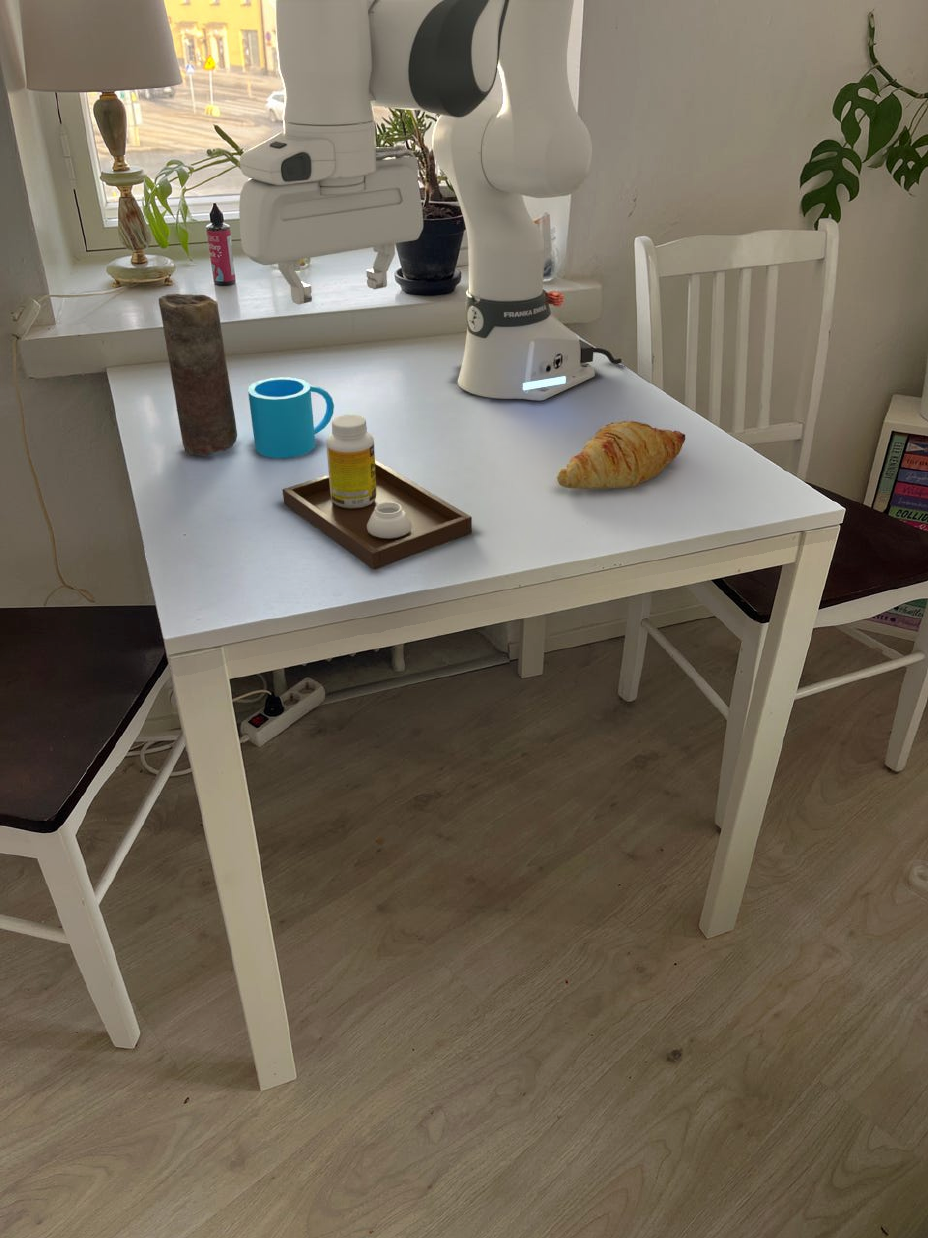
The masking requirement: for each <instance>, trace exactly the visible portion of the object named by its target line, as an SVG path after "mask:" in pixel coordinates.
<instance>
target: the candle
mask: <svg viewBox="0 0 928 1238" xmlns="http://www.w3.org/2000/svg"><path fill="white" fill-rule="evenodd" d="M158 306H159V311H160V316H161V317H160V318H161V323H162V327H163V328H162V329H163V334H164V335H163V336H164V339H165V346H166V352H167V358H168V363H169V368H170V375H171V381H172V387H173V392H174V400H175V406H176V412H177V419H178V425H179V429H180V436H181V442H182V443H181V444H182V446H183V449H184V451H185V453H186V454H188V455H190V456H205V457H206V456H209V455H211V454H212V453H217V452H222V451H223V452H225V451H226V450H228V449H231V447H233V446H234V444H235V443H236V442H237V438H238V430H237V429H238V428H237V422H236V416H235V409H234V403H233V396H232V391H231V384H230V377H229V370H228V364H227V357H226V349H225V344H224V336H223V329H222V323H221V316H220V310H219V303H218V301H217V300H214V299H213V298H211V297H210V296H208V295H206V294H189V293H185V294H181V293H168V294H165V295H162V296H159V298H158Z"/></svg>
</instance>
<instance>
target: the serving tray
mask: <svg viewBox="0 0 928 1238" xmlns="http://www.w3.org/2000/svg"><path fill="white" fill-rule="evenodd" d="M375 473H376V499H375V501H374V502H373V503H372V504H370V505H368V506H366V507H363V508H357V509H347V508H342V507H339V506H337V505H336V504H334V503H333V502H332V500H331V495H330V484H329V474H327V475H324V476H323V475H322V476H320V477H317V478H313V479H311V480H306V481H305V482H300V483H298V484H293V485H291V486H289V487H285V488H282V489H281V490H282V499H283V505H284V506H285V507H287V508H288V509H289V510H290V511H292V512H294V513H295V514H296V515H298V516H299V517H300V518H302V519H303V520H304V521H306V522H307V523H309V524H310V525H311V526H312V527H314V528H316V529H317V530H318V531H320V533H323V534H324V535H325V536H326V537H328V538H329V539H331V540H332V541H333V542H334V543H336V544H338V545H339V546H340V547H342V548H343V549H344V550H346V551H347V552H348V553H350V554H351V555H353V556H354V557H355V558H356V559H358V560H359V561H361V562H362V563H363V564H365V565H366V566H368V567H369V568H370V569H372V570H374V571H375V570H378V569H381V568H383V567H386V566H388V565H391V564H394V563H396V562H400V561H401V560H404V559H407V558H409V557H412V556H414V555H417V554H420V553H423V552H425V551H428V550H430V549H433V548H435V547H438V546H440V545H444V544H446V543H448V542H451V541H454V540H457V539H459V538H462V537H464V536H467V535H470V534H472V531H473V529H472V527H473V526H472V525H473V520H472V519H473V517H472V516H471V515H469V514H467V513H465V512H464V511H462V510H461V509H459V508H458V507H456V506H454V505H453V504H451V503H449V502H447V501H445V500H444V499H442V498H441V497H439V496H438V495H436V494H434V493H432V492H431V491H429V490H427V489H425V488H424V487H422V486H420V485H418V484H417V483H415V482H414V481H412V480H410V479H408V478H407V477H405V476H403V475H402V474H400V473H399V472H397V471H395V470H394V469H392V468H390V467H388V466H387V465H385V464H384V463H382V462H380V461H378V460H376V459H375ZM383 502H395V503H398V504H400V505H401V507H402V510H404V511H405V513H406V515H407V516H408V518H409V520H410V522H411V525H412V527H411V530H410V532H408V533H407V534H405V535H403V536H400V537H397V538H389V539H388V538H379V537H376V536H373V535H372V534H370V533H369V532H368V530H367V524H368V521H369V519H370V517H371V515H372V513H373V511H375V510H374V509H375V507H376V506H377V505H378V504H380V503H383Z"/></svg>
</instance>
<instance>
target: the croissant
mask: <svg viewBox="0 0 928 1238" xmlns="http://www.w3.org/2000/svg"><path fill="white" fill-rule="evenodd" d="M685 441H686V434H685V433H682V432H681V431H679V430H669V429H660V428H657V427H652V426H651V425H649V424H647V423H645V422H644V423H642V422H639V421H633V420H621V421H618V422H610V423H608V424H605V425H604V426H603V427H601V428H600V429H598V431H596V433H595V435H594V437H593V438H590V439H589V440H588V441H586V444H585V445H584V446H583V448H582V451H581V452H580V453H579V454H576V455H573V456H572V457H571V458H570V459H569V461H568V463H567V464H566V468H562V469H560V470H559V471H558V473H557V477H556V481H557V483H558V485H559V486H561V487H564V488H568V489H577V490H607V489H608V490H611V489H612V490H613V489H623V488H629V487H631V488H634V487H637V486H639V484H640V483H645V482H648V481H649V480H651V479H653V478H654V477H657V476H658V475H659V474H660V473H661V472H662V471H663V469H664V468H666V467H667V465H669V463H670V462H672V461H673V460H674V459H675V458H676V457H677V456H679V454H680V453H681V451H682V448H683V444H684V443H685Z"/></svg>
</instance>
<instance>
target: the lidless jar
mask: <svg viewBox="0 0 928 1238" xmlns="http://www.w3.org/2000/svg"><path fill="white" fill-rule="evenodd" d="M374 510H375V511H373V513H372V515H371V517H370V519H369V521H368V524H367V530H368V532H369V533H370V534H372V535H373V536H376V537H379V538H388V539H389V538H397V537H400V536H403V535H405V534H407V533H408V532H410V530H411V527H412V525H411V522H410V520H409V518H408V516H407V515H406V513H405V511H404V510H402V507H401V505H400V504H398V503H395V502H383V503H380V504H378V505H377V506H376V507H375V509H374Z"/></svg>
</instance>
